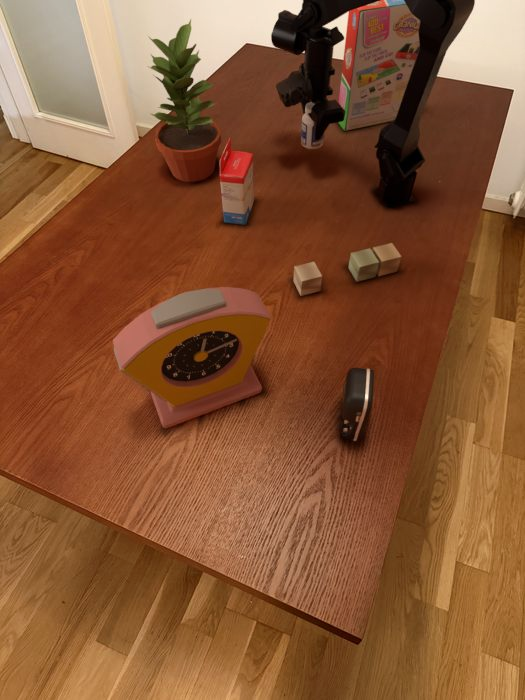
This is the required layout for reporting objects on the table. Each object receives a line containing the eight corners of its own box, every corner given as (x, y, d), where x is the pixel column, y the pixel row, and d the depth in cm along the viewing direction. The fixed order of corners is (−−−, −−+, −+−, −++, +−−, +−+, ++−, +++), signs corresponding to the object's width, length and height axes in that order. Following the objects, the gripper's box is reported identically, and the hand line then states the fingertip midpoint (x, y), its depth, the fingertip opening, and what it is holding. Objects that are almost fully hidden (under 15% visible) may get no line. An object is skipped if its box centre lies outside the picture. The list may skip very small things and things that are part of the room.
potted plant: (148, 181, 114) (116, 38, 90) (179, 145, 123) (157, 5, 98) (207, 196, 111) (190, 52, 87) (235, 158, 119) (226, 17, 95)
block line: (387, 258, 99) (392, 242, 96) (397, 271, 97) (401, 256, 94) (293, 281, 96) (294, 266, 93) (300, 296, 94) (301, 281, 90)
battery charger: (339, 400, 80) (348, 360, 71) (362, 404, 80) (375, 364, 71) (335, 440, 76) (344, 402, 67) (360, 444, 76) (372, 407, 67)
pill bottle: (325, 139, 118) (329, 102, 110) (319, 151, 115) (323, 114, 108) (304, 135, 119) (306, 98, 112) (297, 147, 116) (299, 110, 109)
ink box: (246, 226, 105) (243, 164, 93) (223, 223, 106) (217, 161, 94) (254, 200, 110) (252, 138, 98) (232, 198, 111) (228, 136, 99)
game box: (407, 106, 132) (435, -14, 110) (417, 117, 129) (448, -5, 107) (335, 120, 129) (349, -2, 107) (343, 132, 126) (360, 8, 103)
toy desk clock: (147, 436, 77) (112, 356, 59) (132, 389, 82) (95, 302, 64) (277, 387, 82) (280, 300, 64) (255, 345, 87) (252, 254, 69)
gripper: (266, 47, 106) (266, 118, 119) (296, 89, 95) (293, 162, 108) (315, 39, 108) (310, 110, 120) (350, 80, 97) (341, 152, 110)
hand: (312, 133), depth 115 cm, fingers closed on pill bottle, 5 cm apart
